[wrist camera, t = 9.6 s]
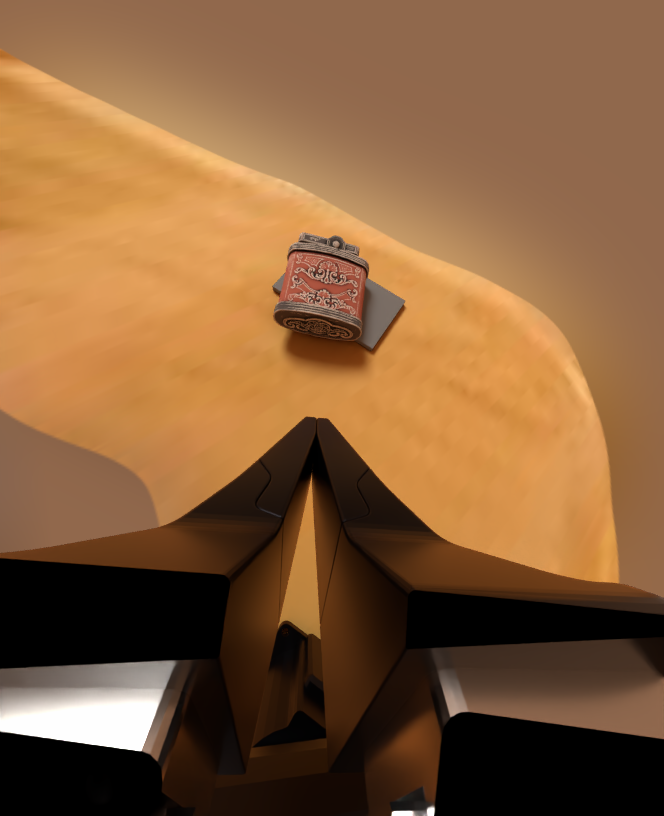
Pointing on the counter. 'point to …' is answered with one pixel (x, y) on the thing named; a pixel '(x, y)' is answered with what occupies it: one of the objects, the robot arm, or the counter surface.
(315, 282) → the lighter
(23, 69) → the counter surface
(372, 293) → the mat
